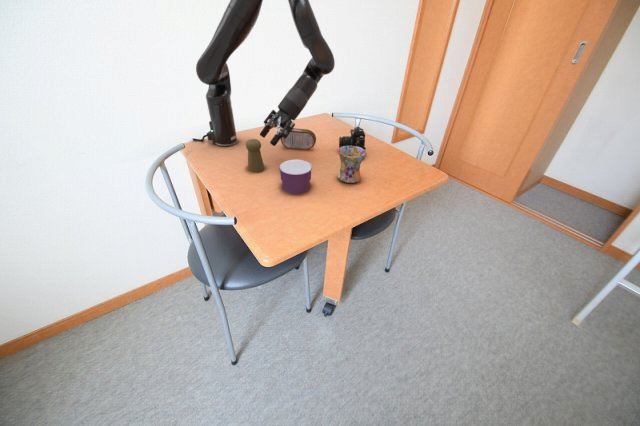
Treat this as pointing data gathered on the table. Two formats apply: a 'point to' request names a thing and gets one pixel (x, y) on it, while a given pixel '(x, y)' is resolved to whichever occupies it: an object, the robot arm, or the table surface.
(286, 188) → the yogurt tub
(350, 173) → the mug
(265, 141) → the table surface
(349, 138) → the film camera
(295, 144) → the tin
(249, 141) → the olive green pawn
